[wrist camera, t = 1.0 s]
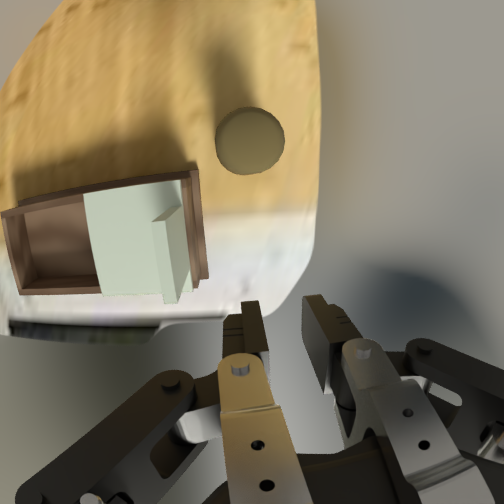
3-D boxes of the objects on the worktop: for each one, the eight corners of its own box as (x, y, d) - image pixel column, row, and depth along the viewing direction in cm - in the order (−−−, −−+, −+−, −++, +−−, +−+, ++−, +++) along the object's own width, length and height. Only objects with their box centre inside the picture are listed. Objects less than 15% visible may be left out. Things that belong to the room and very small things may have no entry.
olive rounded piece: (216, 120, 28) (208, 97, 18) (273, 120, 29) (295, 99, 18) (215, 175, 30) (207, 181, 20) (272, 175, 31) (293, 181, 20)
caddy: (22, 199, 29) (-1, 206, 24) (198, 169, 30) (192, 170, 25) (40, 285, 32) (21, 300, 27) (208, 275, 33) (205, 294, 29)
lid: (85, 193, 25) (43, 205, 17) (180, 179, 25) (161, 185, 18) (104, 293, 28) (74, 330, 20) (193, 289, 28) (182, 330, 21)
